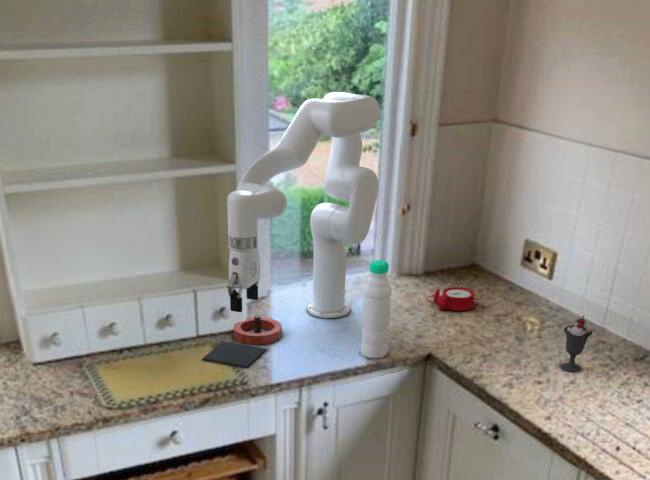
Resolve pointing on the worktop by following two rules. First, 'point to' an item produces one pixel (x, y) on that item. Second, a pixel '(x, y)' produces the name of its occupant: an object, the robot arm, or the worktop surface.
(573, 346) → the sundae
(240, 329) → the ring
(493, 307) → the worktop surface
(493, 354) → the worktop surface
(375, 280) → the water bottle
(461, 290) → the alarm clock
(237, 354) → the mat
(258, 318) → the peg stand
